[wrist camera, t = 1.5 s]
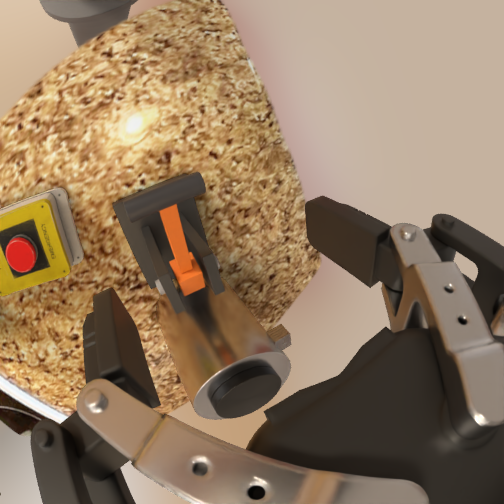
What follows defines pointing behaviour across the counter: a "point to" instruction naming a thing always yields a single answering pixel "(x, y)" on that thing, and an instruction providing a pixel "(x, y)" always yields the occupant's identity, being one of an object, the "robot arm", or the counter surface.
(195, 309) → the kettle
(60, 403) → the counter surface
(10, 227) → the emergency button
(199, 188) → the switch
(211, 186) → the counter surface
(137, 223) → the orange lever mount
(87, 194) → the counter surface
